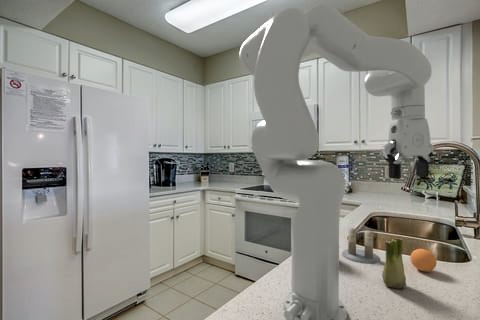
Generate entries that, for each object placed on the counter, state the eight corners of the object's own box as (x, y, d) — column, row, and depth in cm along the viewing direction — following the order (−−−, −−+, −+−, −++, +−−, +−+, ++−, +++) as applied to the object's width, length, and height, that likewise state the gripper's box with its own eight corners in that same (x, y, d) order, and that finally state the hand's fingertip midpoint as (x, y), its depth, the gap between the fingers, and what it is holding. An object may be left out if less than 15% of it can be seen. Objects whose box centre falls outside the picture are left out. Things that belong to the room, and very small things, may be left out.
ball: (436, 277, 67) (436, 255, 66) (409, 271, 70) (409, 250, 70) (436, 269, 71) (436, 248, 71) (411, 264, 75) (411, 244, 75)
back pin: (355, 256, 81) (355, 230, 81) (347, 254, 82) (347, 228, 82) (356, 253, 83) (357, 228, 83) (349, 252, 84) (349, 227, 84)
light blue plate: (375, 266, 73) (375, 265, 73) (337, 257, 80) (337, 256, 80) (382, 254, 82) (382, 254, 82) (347, 247, 89) (347, 246, 89)
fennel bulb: (387, 290, 60) (387, 241, 60) (376, 280, 65) (377, 235, 65) (411, 291, 60) (412, 241, 60) (399, 281, 65) (399, 235, 65)
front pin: (372, 260, 78) (372, 233, 78) (363, 258, 79) (363, 231, 79) (373, 257, 80) (373, 231, 80) (365, 255, 81) (365, 229, 81)
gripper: (394, 112, 62) (395, 181, 62) (446, 112, 66) (446, 176, 67) (371, 116, 69) (372, 178, 69) (418, 116, 74) (419, 174, 74)
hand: (408, 177), depth 68 cm, fingers open, 9 cm apart
